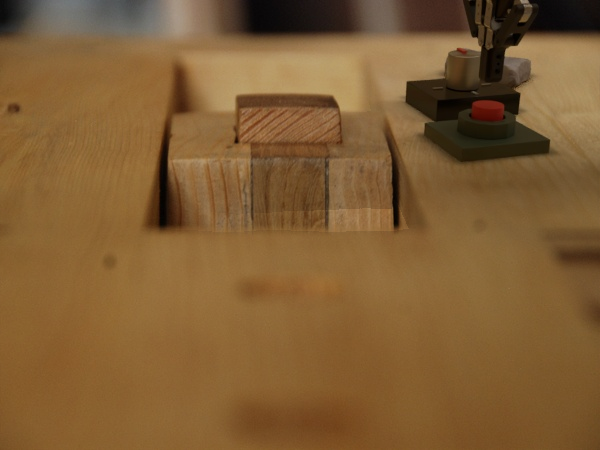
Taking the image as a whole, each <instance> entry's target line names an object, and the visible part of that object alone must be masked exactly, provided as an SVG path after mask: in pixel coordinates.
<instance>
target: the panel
mask: <svg viewBox="0 0 600 450" xmlns="http://www.w3.org/2000/svg"><path fill="white" fill-rule="evenodd" d="M481 100H489V101H496V102H500V103H502V104H504V111H507V112H509V113H511V114H513V115H515V116H518V115H519V113H520V112H519V111H520V102H521V92H519V91H518V90H516V89H514V88H509V87H507V86H505V85H503V84H501V83H499V82H493V83H487V82H485V81H482V80H479V88H478V89H476V90H470V91H460V90H453V89H450V88H447V87H446V77H444V78H431V79H419V80H406V83H405V103H406V104H407V105H409V106H411V107H412V108H414V109H416V111H418V112H420V113H421V114H423V115H424V116H426V117H427V118H429V119H430V120H432V122H438V121H449V120H458V115H459V112H461V111H464V110H467V109H472V104H473V102H476V101H481Z"/></svg>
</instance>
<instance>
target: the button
mask: <svg viewBox="0 0 600 450" xmlns="http://www.w3.org/2000/svg"><path fill="white" fill-rule="evenodd" d="M503 113H504V104H502V103H500V102H496V101H489V100H481V101H476V102H473V104H472V113H471V118H472V119H476V120H480V121H491V122H492V121H501V120H503Z"/></svg>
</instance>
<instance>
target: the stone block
mask: <svg viewBox="0 0 600 450" xmlns="http://www.w3.org/2000/svg"><path fill="white" fill-rule="evenodd" d="M461 48H462V49H464V50H471V51H477V52H480V53H481V50H476V49H471V48H464V47H461ZM447 63H448V55H447V57H446V59H445V62H444V76H445V77H444V78H446V76H447ZM531 73H532V60H530V59H528V58H525V57H515V56H505V58H504V67H503V75H502V80H501V81H500V82H499V83H501V84H503V85H505V86H507V87H509V88H511V89H515V87H519V86H520V84H522V83H524V82H526V81H527V80H528V79H530V77H531Z"/></svg>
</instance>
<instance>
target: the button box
mask: <svg viewBox="0 0 600 450" xmlns="http://www.w3.org/2000/svg"><path fill="white" fill-rule="evenodd" d="M471 113H472V109H467V110H464V111H461V112H459V115H458V120H449V121H438V122H435V121H427V122H424V127H423V136H424V137H426V139H428V140H430V141H431V142H433V143H434V144H435V145H436V146H438V147H439V148H441V149H442V150H444V151H445V152H447V153H448V154H449V155H450V156H451V157H454V158H455V159H456V160H458V161H459V162H461V163H466V162H477V161H485V160H494V159H503V158H513V157H522V156H523V157H524V156H532V155H542V154H549V153H550V146H551V139H550V138H548V137H546V136H544V135H543V134H541V133H539V132H538V131H535V130H533V129H532V128H530V127H528V126H526V125H525V124H523V123H521V122H519V121H517V115H513V114H511V113H509V112H507V111H504V113H503V120H501V121H492V122H491V121H480V120H476V119H472V118H471Z"/></svg>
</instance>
